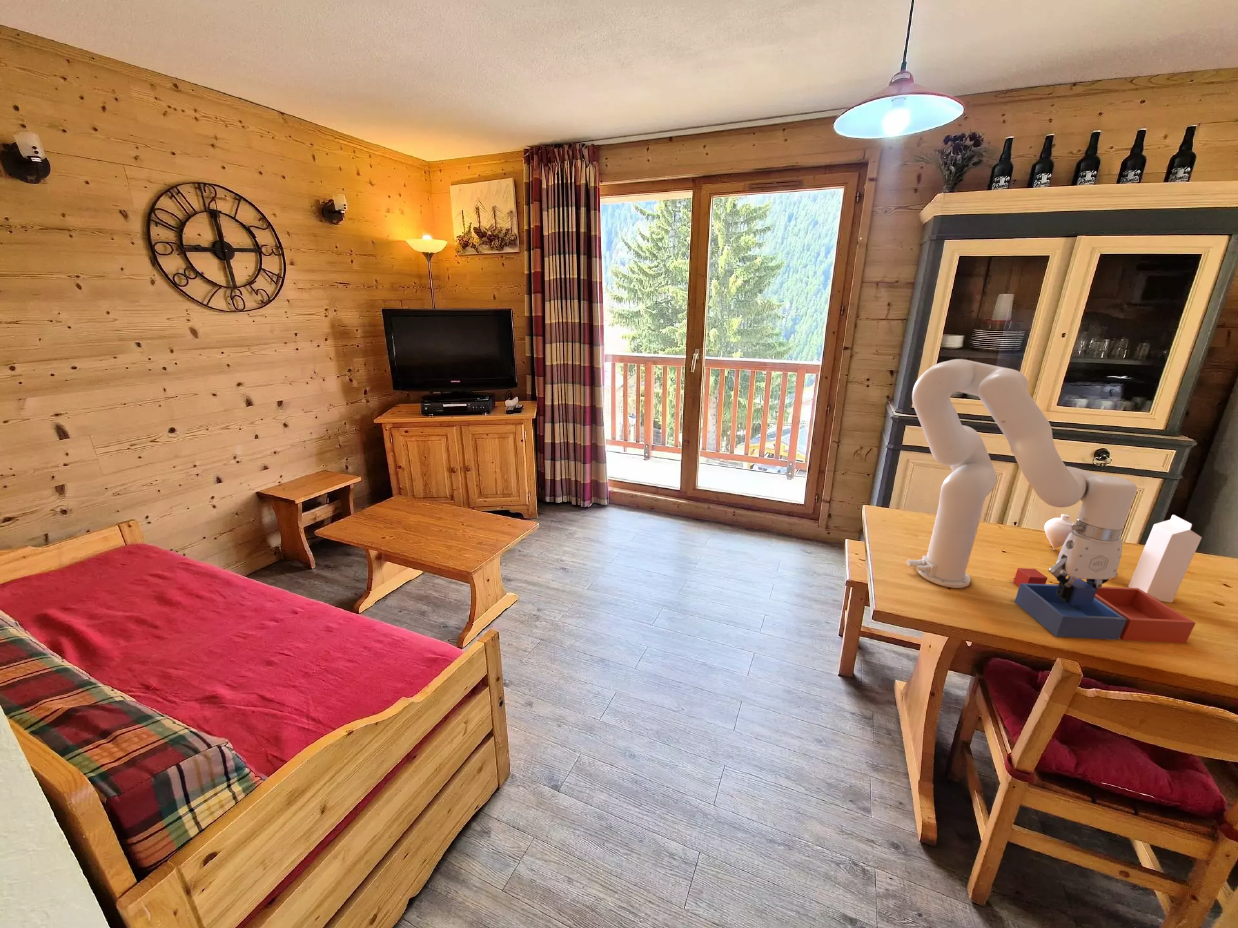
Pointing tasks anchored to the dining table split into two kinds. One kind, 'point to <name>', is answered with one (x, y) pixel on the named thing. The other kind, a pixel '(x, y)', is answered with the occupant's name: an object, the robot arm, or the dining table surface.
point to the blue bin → (1069, 614)
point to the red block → (1029, 576)
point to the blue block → (1082, 593)
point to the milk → (1165, 559)
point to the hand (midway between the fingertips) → (1073, 598)
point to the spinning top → (1058, 530)
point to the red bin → (1145, 616)
